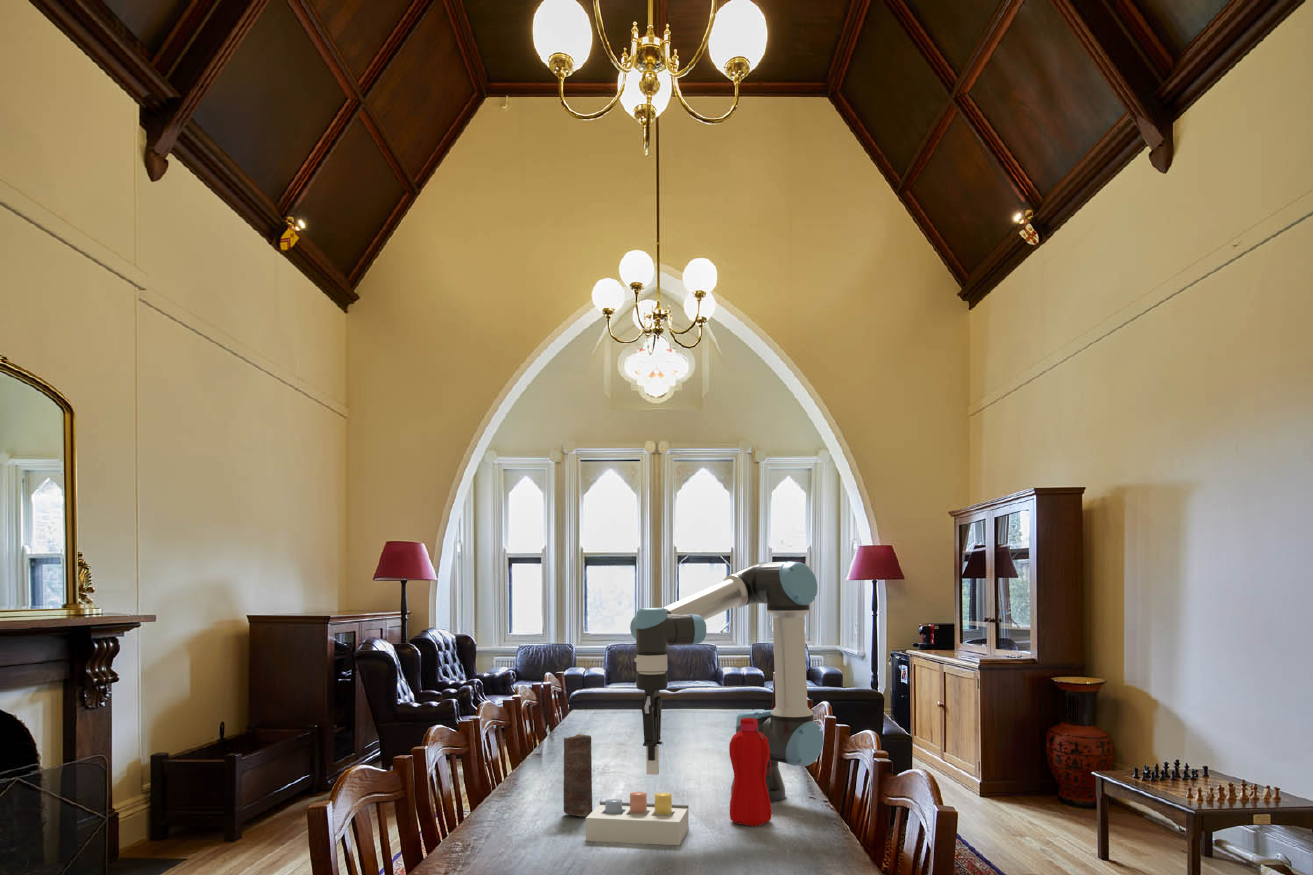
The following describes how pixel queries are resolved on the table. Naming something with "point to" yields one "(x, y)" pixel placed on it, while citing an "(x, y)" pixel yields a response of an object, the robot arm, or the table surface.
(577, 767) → the brown rounded bar
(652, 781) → the table surface
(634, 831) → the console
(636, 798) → the button terracotta
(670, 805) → the button mustard
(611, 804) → the button slate
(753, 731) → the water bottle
